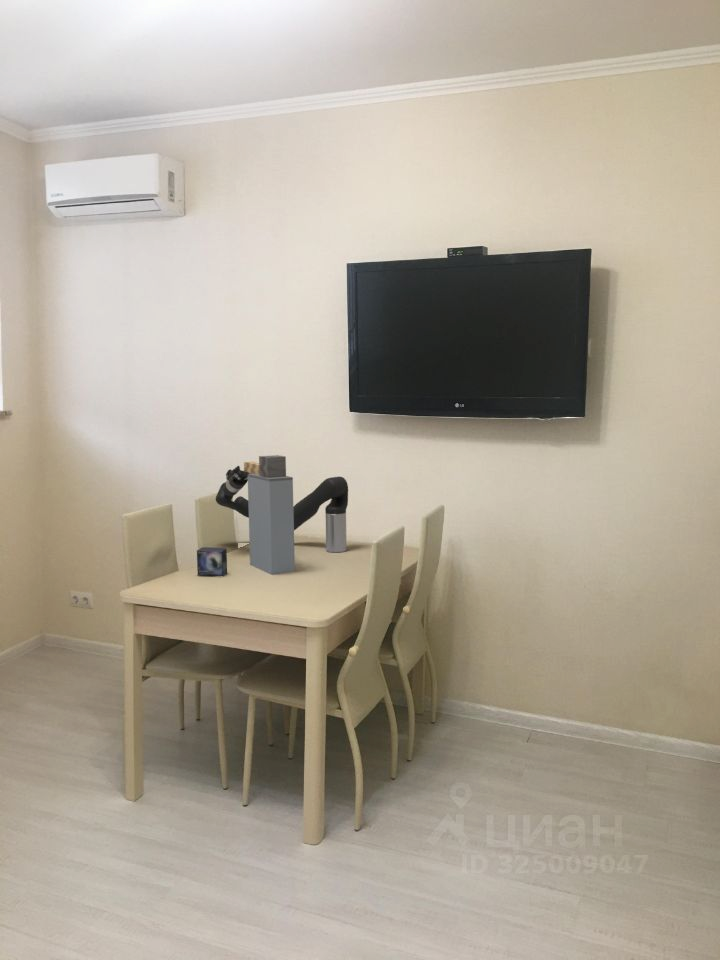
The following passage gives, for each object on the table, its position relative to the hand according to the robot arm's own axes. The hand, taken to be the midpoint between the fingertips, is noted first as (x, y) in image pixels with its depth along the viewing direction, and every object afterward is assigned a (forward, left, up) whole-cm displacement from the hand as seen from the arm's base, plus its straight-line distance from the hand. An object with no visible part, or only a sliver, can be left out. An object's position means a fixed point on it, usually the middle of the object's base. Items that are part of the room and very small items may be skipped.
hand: (248, 467), depth 346 cm
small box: (+31, -4, -40) cm, 50 cm away
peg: (+9, +10, -2) cm, 14 cm away
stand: (+15, +15, -40) cm, 45 cm away
